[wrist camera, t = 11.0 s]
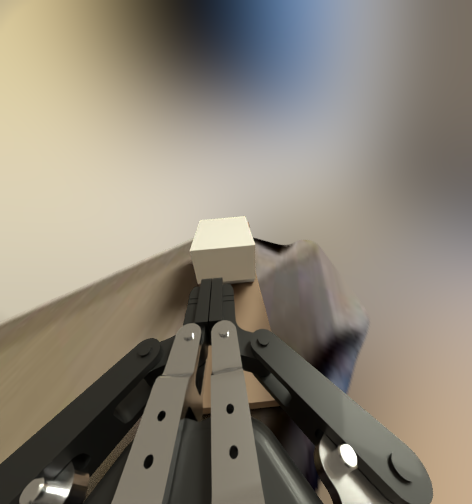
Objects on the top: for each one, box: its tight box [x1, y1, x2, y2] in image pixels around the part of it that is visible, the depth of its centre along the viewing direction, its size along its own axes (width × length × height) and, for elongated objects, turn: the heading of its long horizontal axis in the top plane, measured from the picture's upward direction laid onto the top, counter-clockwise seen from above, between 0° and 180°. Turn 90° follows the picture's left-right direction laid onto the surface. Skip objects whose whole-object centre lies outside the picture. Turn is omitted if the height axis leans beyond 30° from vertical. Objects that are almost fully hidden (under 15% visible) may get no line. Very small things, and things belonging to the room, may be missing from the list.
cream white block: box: [190, 216, 256, 285], centre depth 31 cm, size 9×12×8 cm
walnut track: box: [198, 223, 280, 414], centre depth 26 cm, size 10×28×8 cm, turn 4°
